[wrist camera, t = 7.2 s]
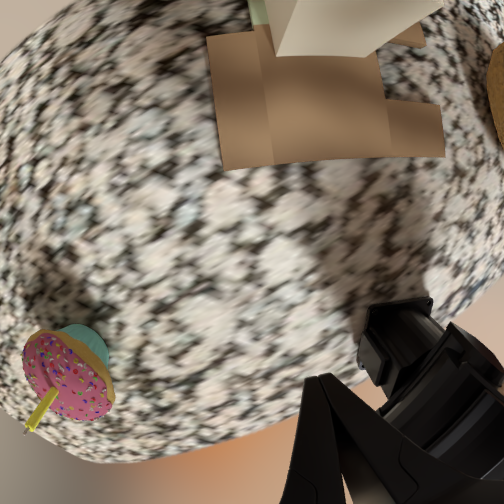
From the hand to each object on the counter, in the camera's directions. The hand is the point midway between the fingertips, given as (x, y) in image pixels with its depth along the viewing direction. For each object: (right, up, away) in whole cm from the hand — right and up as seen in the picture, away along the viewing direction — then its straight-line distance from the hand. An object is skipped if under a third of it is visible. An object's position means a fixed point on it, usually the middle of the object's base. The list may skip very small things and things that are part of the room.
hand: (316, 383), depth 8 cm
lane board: (+3, +17, +7) cm, 19 cm away
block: (+2, +20, +5) cm, 20 cm away
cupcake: (-17, -4, +13) cm, 22 cm away
